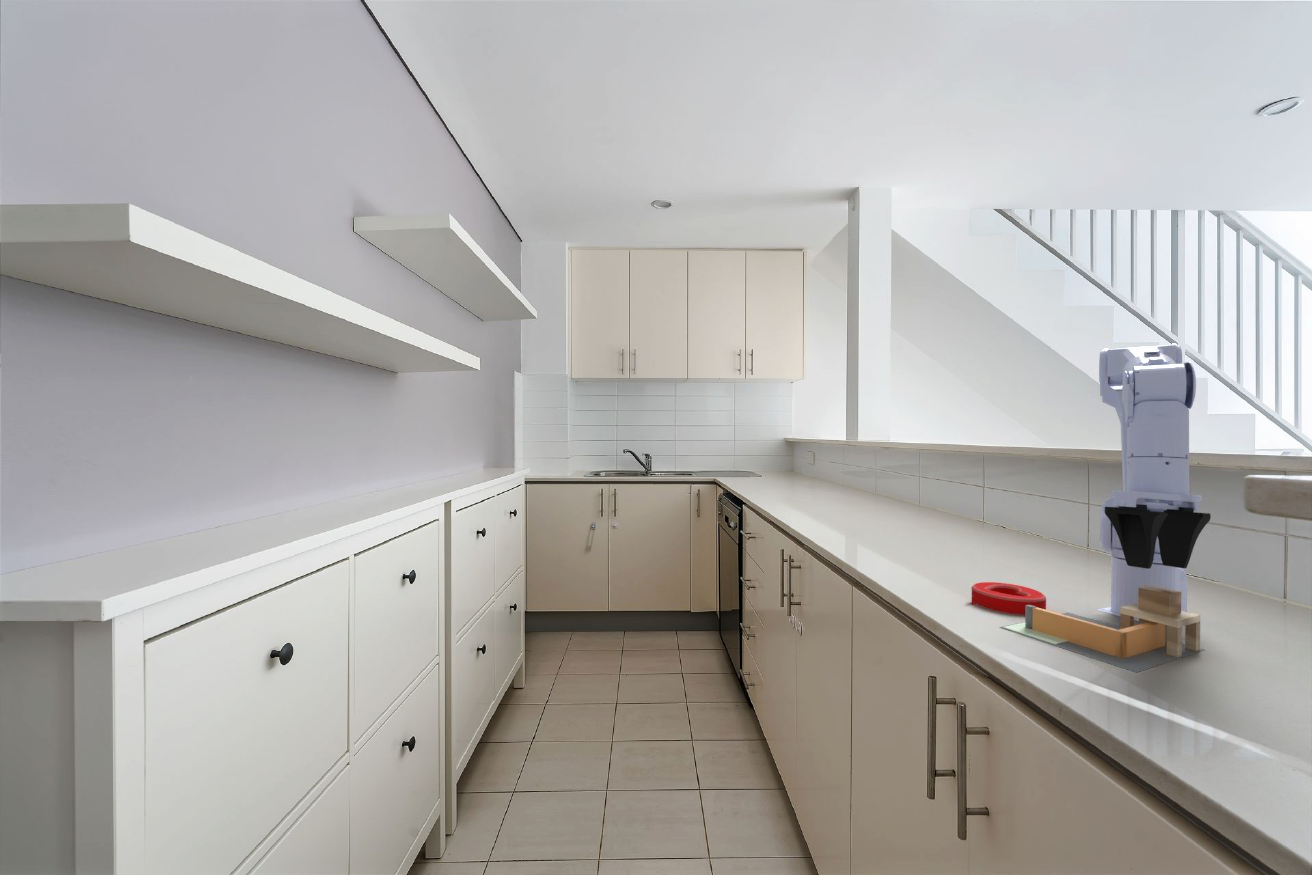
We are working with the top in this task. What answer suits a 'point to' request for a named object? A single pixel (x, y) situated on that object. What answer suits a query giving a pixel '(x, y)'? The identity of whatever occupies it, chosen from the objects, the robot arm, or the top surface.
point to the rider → (1164, 617)
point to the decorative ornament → (1006, 597)
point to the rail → (1098, 633)
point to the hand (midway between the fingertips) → (1157, 567)
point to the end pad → (1035, 634)
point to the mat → (1129, 663)
